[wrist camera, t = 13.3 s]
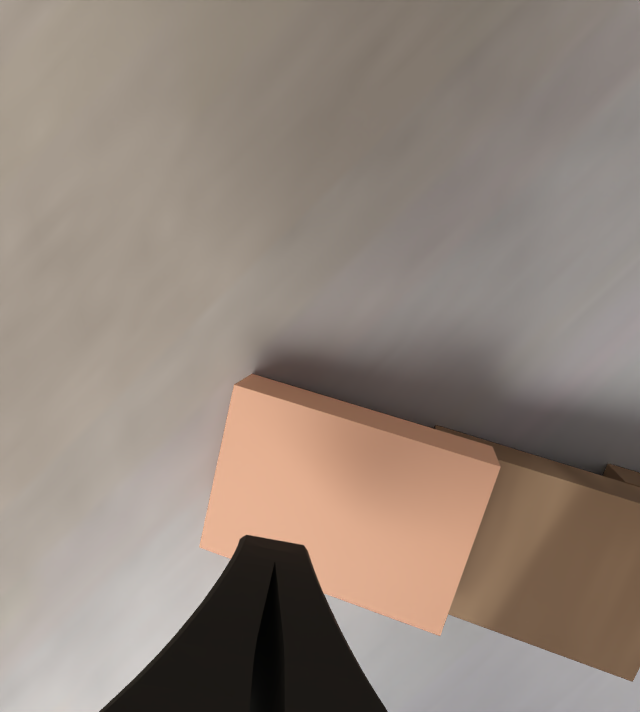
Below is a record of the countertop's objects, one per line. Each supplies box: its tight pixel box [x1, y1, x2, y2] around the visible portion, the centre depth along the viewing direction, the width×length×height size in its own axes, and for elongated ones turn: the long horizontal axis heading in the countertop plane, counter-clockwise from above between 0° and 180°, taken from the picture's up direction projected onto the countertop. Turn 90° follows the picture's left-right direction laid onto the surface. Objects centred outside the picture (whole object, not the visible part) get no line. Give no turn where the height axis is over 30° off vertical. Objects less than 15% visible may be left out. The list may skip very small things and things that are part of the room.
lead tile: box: [199, 374, 501, 636], centre depth 13 cm, size 1×5×7 cm
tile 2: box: [435, 425, 640, 682], centre depth 14 cm, size 1×5×7 cm
